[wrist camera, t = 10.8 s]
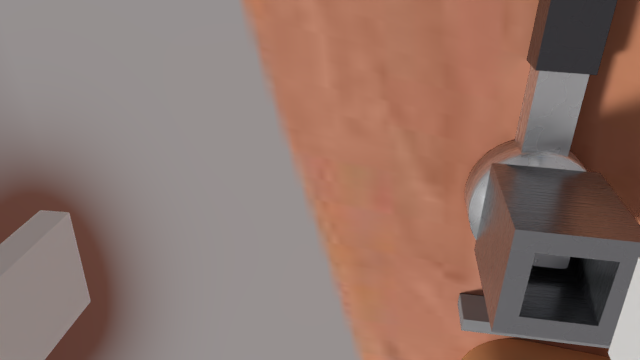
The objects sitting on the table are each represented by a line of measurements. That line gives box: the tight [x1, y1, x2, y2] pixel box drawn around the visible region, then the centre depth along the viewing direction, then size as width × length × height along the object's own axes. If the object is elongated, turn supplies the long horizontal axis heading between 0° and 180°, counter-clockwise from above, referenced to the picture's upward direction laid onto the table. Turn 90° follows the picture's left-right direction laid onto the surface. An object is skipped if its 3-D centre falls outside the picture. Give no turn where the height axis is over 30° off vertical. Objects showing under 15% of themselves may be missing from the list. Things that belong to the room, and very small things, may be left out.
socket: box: [475, 163, 640, 346], centre depth 31 cm, size 6×6×8 cm
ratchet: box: [465, 0, 617, 269], centre depth 32 cm, size 21×8×7 cm, turn 177°
